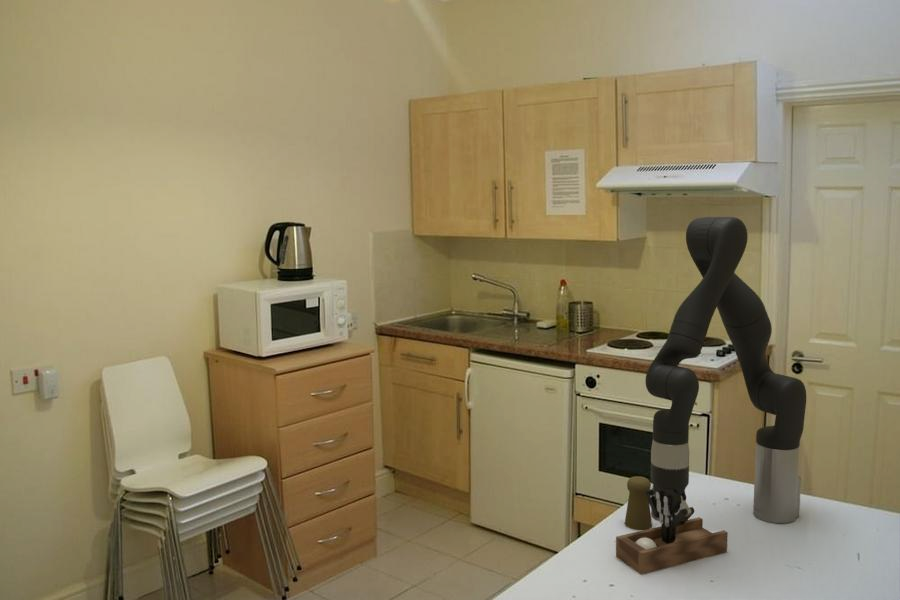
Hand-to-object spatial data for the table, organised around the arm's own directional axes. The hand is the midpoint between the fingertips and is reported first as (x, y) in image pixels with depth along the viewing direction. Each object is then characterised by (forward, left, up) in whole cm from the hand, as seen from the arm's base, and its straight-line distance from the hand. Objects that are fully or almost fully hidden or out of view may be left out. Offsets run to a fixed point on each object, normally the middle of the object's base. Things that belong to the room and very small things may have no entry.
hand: (668, 541), depth 163 cm
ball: (+6, 0, -1) cm, 6 cm away
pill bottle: (-12, -16, -3) cm, 20 cm away
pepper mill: (-4, -15, -3) cm, 16 cm away
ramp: (-1, 0, -3) cm, 3 cm away
